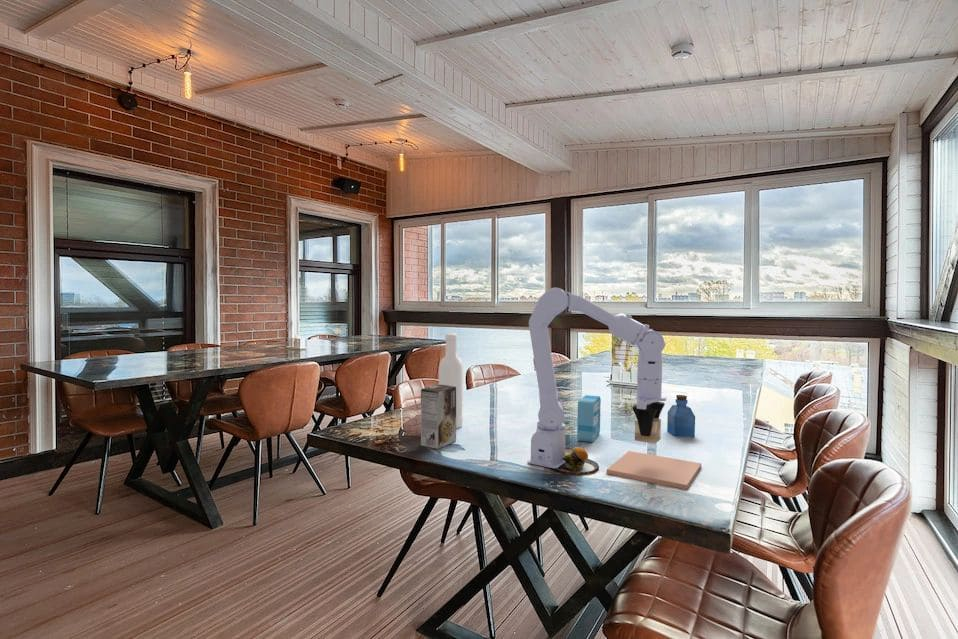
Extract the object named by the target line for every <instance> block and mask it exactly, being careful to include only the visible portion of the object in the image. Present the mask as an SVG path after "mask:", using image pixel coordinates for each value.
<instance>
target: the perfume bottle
mask: <svg viewBox="0 0 958 639" xmlns="http://www.w3.org/2000/svg"><path fill="white" fill-rule="evenodd" d="M675 396H676V399H675V403H676V404H672V405H671V407H670V408H669V409H668V411H667V418H666V419H667V420H666V421H667V424H666V426H667V427H666V428H667V429H666V431H667V433H669V434H670V435H671V436H673V437H679V438H683V437H684V438H686V437H687V438H688V437H689V438H692V437H693V438H695V437H696V434H695V433H696V431H695V430H696V429H695V428H696V416H695V413H694V412H693V410H692V408H691V407H690V406H688V405H687V404H688V402H689V401H688V395H685V394H676V395H675Z"/></svg>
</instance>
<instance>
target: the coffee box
mask: <svg viewBox="0 0 958 639" xmlns="http://www.w3.org/2000/svg"><path fill="white" fill-rule="evenodd" d="M420 395H421V396H420V422H421V423H420V446H422V447H428V448H432V449H437V450H440V449H441V448H444V447H445V446H448V445H450V444H453V443H454V442H457V429H456V387H454V386H448V385H439V384H436V385H432V386H427V387H424V388H420Z"/></svg>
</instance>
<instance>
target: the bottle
mask: <svg viewBox="0 0 958 639" xmlns="http://www.w3.org/2000/svg"><path fill="white" fill-rule="evenodd" d="M444 340H445V356H443V357H442V358H441V359H440V361H439V365H438V385H448V386H454V387H456V430H457V429H460V428H462V427H463V422H464V417H463V416H464V415H463V411H464V410H463V409H464V408H463V407H464V404H463V402H464V401H463V400H464V393H463V392H464V365H463V361H462V359H461V358H460V357H459V356H458V355H457V354H458V334H457V333H446V334H445V339H444Z"/></svg>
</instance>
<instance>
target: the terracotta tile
mask: <svg viewBox="0 0 958 639" xmlns="http://www.w3.org/2000/svg"><path fill="white" fill-rule="evenodd" d="M701 468H702V462H701V463H699V462H695V461H688V460H684V459H677V458H674V457H673V458H672V457H665V456H662V455H661V456H660V455H654V454H650V453H643V452H639V451H638V452H636V451H631V450H628V451H627V452H626V453H625V454H623V455H622V456H621V457H620V458H618V459H617V460H616V461H615V462H614V463H612V464H611V465H610V466H609V467H608V468H606V475H607V474H609V475H612V476H613V475H614V476H618V477H621V478H622V477H624V478H628V479H633V480H637V481H638V480H639V481H643V482H648V483H652V484H656V485H663V486H668V487H673V488H678V489H681V490H682V489H683V490H688V489H689V487H690V486H691V484H692V482H693V481H694V479H695V478H696V477H697V474H698V473H699V472H700V470H701Z"/></svg>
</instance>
